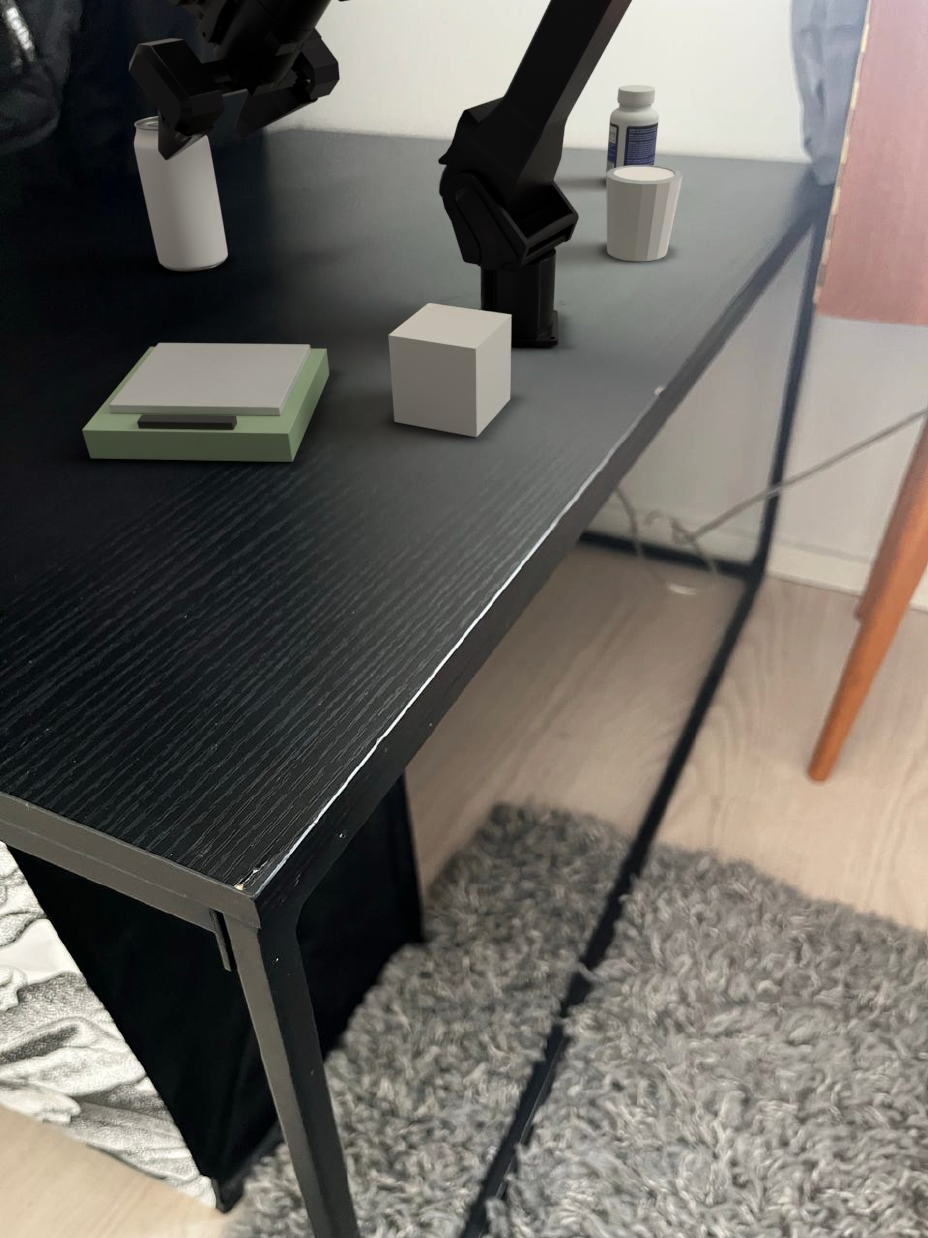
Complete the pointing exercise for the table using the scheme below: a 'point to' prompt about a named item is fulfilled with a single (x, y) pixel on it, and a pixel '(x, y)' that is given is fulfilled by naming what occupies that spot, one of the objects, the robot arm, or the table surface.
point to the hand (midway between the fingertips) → (202, 143)
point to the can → (181, 202)
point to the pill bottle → (633, 128)
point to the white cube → (451, 368)
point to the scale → (211, 403)
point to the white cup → (641, 210)
